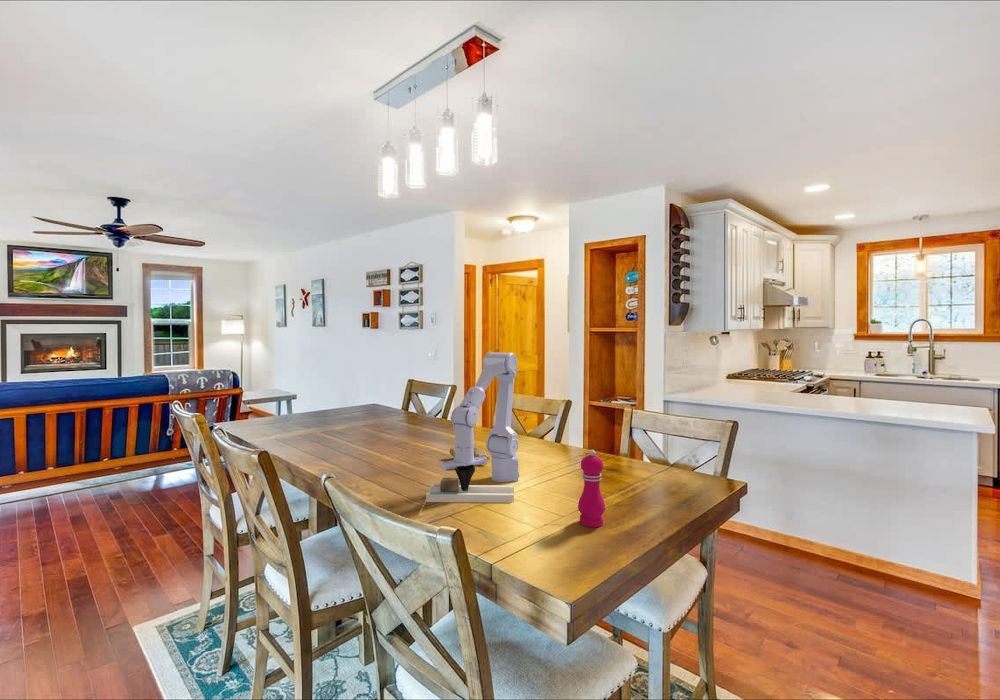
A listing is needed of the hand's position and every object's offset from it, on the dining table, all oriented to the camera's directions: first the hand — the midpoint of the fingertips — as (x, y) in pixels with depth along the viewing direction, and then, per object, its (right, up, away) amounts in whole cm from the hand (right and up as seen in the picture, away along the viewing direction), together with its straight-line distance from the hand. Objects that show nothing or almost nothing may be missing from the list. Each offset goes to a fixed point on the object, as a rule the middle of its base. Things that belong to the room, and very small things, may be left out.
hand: (464, 490), depth 154 cm
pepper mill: (+36, -4, -18) cm, 40 cm away
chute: (+2, -3, 0) cm, 4 cm away
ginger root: (-1, -1, +41) cm, 41 cm away
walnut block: (-5, -2, 0) cm, 5 cm away
